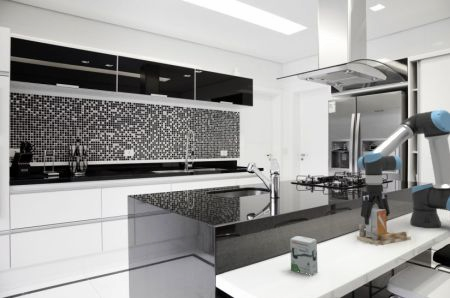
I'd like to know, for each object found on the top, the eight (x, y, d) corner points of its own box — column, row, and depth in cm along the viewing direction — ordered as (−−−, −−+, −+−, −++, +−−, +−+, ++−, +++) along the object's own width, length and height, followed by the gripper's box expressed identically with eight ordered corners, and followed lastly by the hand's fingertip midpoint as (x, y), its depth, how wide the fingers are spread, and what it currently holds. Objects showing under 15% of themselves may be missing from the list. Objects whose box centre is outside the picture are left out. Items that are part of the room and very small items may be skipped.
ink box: (290, 270, 114) (289, 238, 114) (297, 266, 118) (296, 235, 118) (311, 276, 108) (310, 242, 108) (318, 272, 111) (317, 239, 112)
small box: (378, 239, 145) (376, 211, 146) (365, 236, 150) (364, 209, 151) (387, 236, 150) (386, 209, 150) (375, 233, 155) (373, 207, 155)
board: (389, 234, 161) (388, 219, 161) (411, 239, 150) (410, 224, 150) (356, 239, 153) (355, 224, 154) (376, 245, 142) (376, 229, 142)
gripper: (384, 182, 158) (386, 226, 157) (350, 184, 150) (353, 231, 150) (397, 183, 151) (399, 229, 150) (362, 185, 143) (365, 234, 143)
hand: (376, 230), depth 150 cm, fingers closed on small box, 9 cm apart
